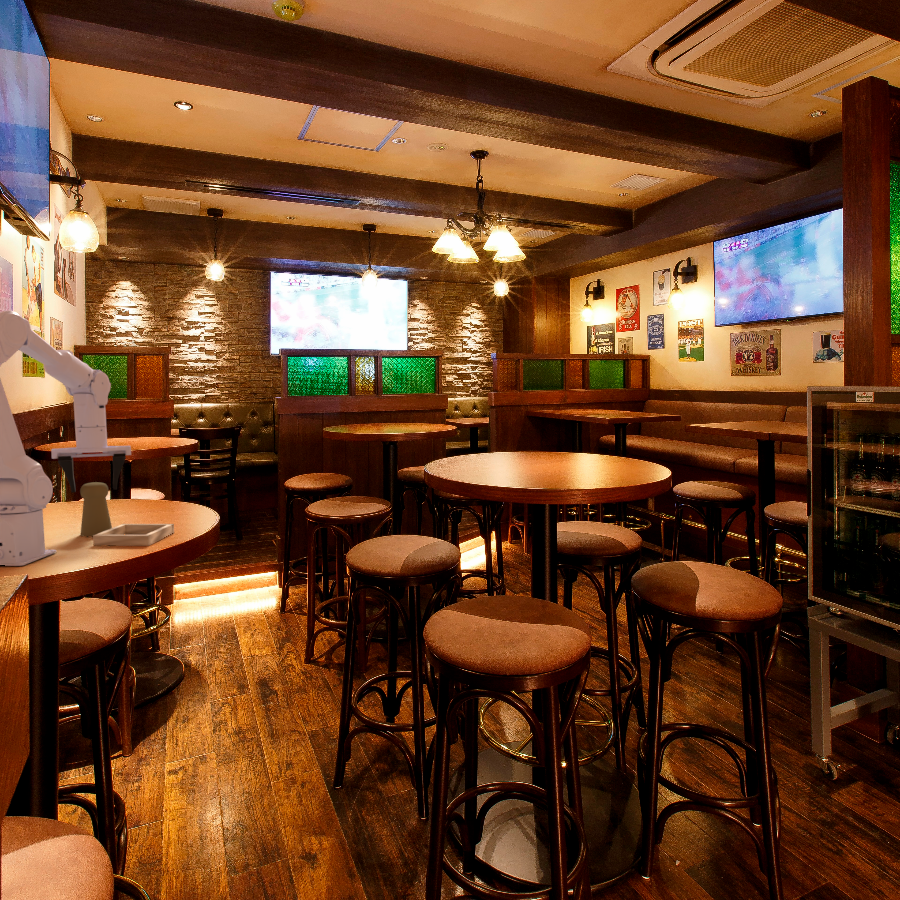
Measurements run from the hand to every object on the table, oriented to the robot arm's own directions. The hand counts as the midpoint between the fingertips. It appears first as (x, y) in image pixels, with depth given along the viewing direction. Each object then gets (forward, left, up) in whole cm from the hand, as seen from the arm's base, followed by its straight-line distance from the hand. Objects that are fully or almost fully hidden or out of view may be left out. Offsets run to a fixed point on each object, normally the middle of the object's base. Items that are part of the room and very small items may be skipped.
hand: (94, 490), depth 132 cm
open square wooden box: (-5, -11, -9) cm, 15 cm away
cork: (0, 0, -10) cm, 10 cm away
